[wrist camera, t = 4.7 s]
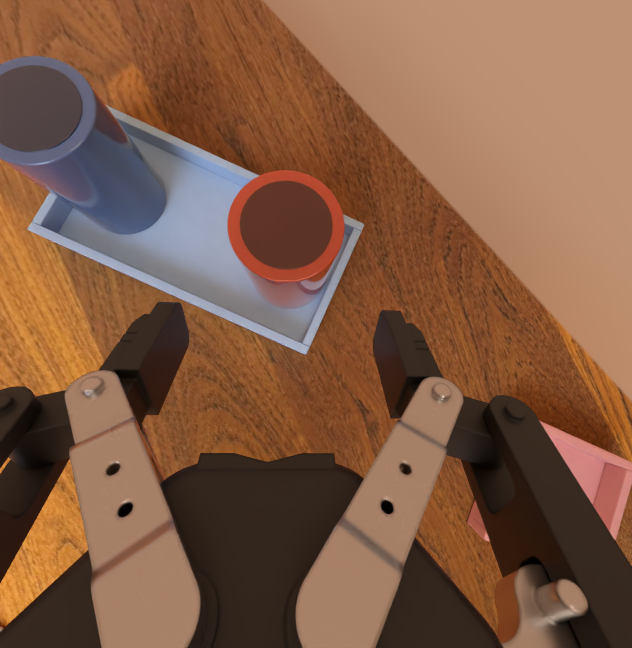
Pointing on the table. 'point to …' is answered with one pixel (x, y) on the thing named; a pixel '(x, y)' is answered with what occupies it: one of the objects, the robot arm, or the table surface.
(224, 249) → the blue tray
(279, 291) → the red spoon pot
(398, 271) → the table surface
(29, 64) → the blue pot
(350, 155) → the table surface
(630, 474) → the pink tray
